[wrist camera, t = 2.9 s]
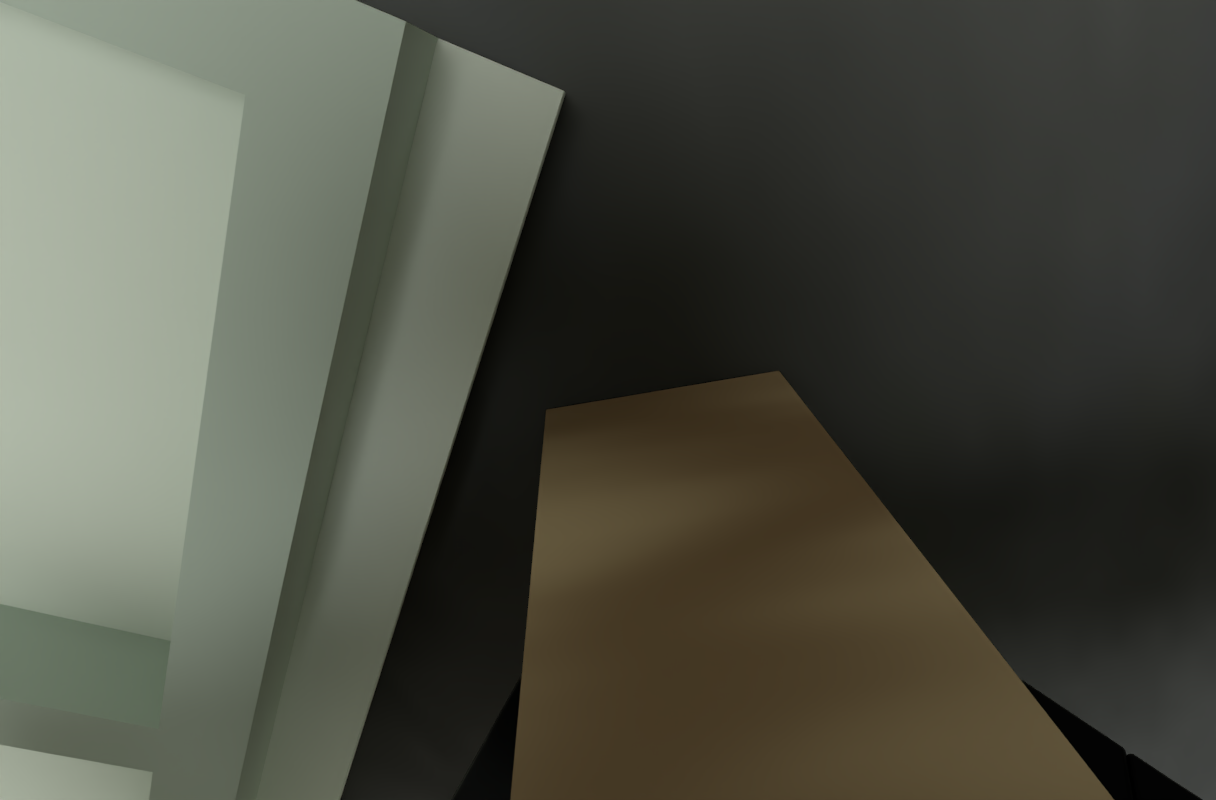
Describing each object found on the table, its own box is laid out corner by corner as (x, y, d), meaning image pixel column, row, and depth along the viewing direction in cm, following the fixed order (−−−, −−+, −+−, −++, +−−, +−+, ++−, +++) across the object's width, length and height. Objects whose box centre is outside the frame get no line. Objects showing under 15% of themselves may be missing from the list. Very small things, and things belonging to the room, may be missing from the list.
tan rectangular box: (793, 368, 9) (1173, 818, 3) (806, 681, 11) (1030, 1235, 6) (546, 410, 9) (499, 921, 3) (614, 711, 11) (653, 1284, 6)
